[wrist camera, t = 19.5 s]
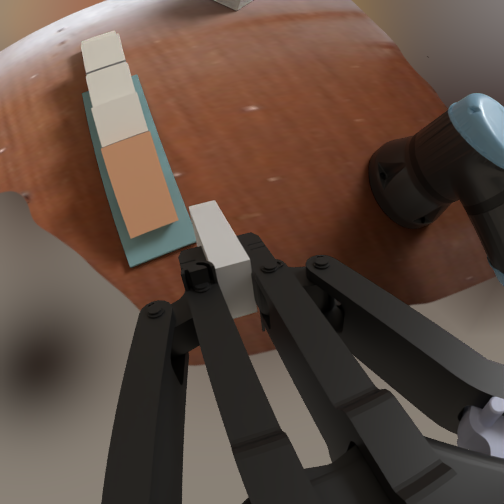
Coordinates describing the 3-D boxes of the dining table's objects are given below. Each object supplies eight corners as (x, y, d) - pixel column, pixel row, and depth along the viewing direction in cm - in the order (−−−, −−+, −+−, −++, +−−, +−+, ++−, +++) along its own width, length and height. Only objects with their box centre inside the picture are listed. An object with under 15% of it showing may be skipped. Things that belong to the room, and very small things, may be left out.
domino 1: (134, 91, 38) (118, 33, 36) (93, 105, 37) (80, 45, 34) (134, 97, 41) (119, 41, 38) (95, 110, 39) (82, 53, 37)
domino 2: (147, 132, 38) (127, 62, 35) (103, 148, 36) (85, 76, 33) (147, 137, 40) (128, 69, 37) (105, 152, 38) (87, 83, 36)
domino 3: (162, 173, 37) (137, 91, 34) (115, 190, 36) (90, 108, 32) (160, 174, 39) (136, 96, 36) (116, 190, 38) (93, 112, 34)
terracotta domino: (178, 220, 37) (149, 130, 33) (130, 238, 35) (100, 148, 32) (176, 218, 39) (148, 134, 36) (130, 235, 37) (102, 151, 34)
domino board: (198, 241, 40) (198, 240, 39) (131, 267, 37) (130, 267, 37) (137, 77, 42) (137, 74, 41) (83, 96, 40) (81, 93, 39)
